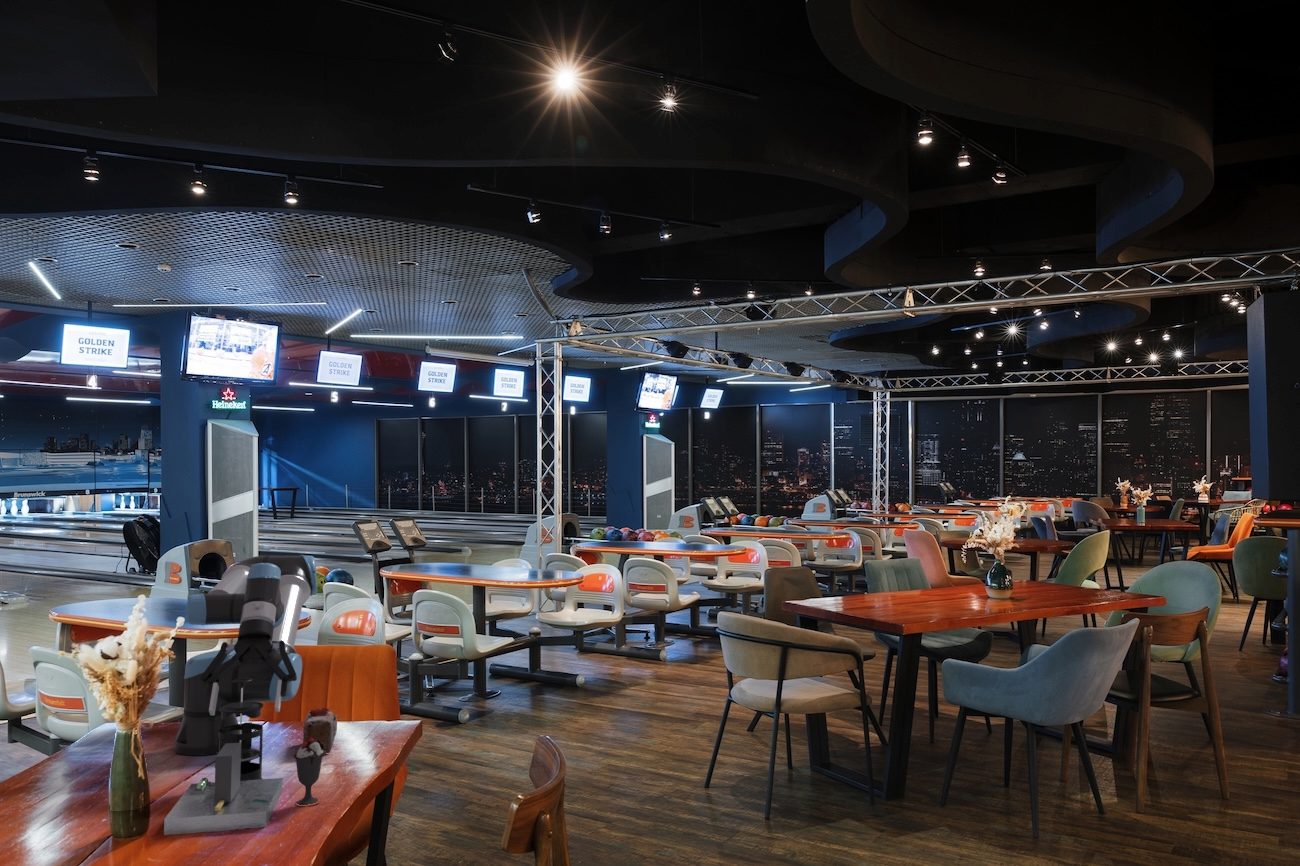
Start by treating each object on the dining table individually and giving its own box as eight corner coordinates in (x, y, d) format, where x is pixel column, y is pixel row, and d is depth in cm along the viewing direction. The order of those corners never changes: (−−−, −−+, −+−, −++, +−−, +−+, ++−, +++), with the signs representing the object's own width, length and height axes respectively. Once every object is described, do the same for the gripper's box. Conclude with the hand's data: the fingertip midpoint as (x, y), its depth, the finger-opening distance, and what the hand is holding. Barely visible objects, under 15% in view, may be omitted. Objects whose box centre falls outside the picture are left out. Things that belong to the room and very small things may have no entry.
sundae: (292, 810, 185) (294, 735, 186) (289, 800, 191) (291, 727, 192) (327, 805, 188) (328, 731, 189) (322, 795, 194) (324, 723, 195)
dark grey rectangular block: (224, 787, 188) (225, 743, 189) (239, 786, 189) (241, 742, 189) (208, 811, 175) (210, 763, 175) (225, 810, 176) (227, 762, 176)
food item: (303, 741, 233) (304, 702, 233) (336, 739, 236) (337, 700, 236) (301, 757, 220) (302, 716, 221) (336, 754, 223) (337, 713, 223)
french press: (255, 791, 196) (258, 683, 197) (209, 793, 195) (212, 684, 196) (268, 773, 208) (271, 671, 209) (224, 775, 206) (227, 672, 207)
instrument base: (191, 798, 192) (191, 775, 192) (282, 792, 196) (282, 769, 196) (163, 835, 172) (164, 809, 172) (265, 827, 176) (266, 802, 177)
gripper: (197, 618, 210) (180, 707, 197) (311, 615, 216) (302, 701, 203) (202, 633, 216) (186, 720, 203) (314, 630, 222) (305, 714, 209)
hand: (244, 711), depth 203 cm, fingers open, 13 cm apart
